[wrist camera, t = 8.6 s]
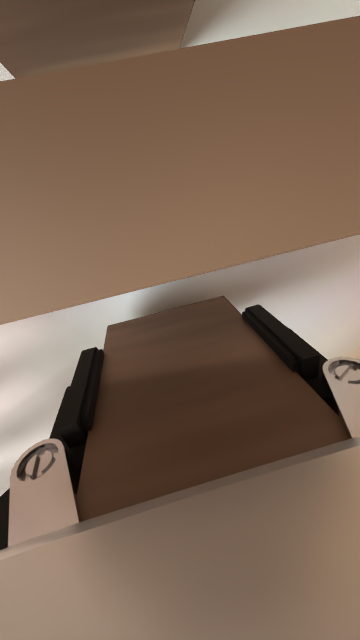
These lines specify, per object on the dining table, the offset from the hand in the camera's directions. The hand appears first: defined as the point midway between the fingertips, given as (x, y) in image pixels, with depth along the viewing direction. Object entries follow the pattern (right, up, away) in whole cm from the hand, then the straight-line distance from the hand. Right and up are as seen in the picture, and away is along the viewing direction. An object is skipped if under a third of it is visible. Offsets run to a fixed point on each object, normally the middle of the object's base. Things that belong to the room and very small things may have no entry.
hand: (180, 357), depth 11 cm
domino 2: (0, +1, +2) cm, 3 cm away
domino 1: (-2, +7, +1) cm, 7 cm away
